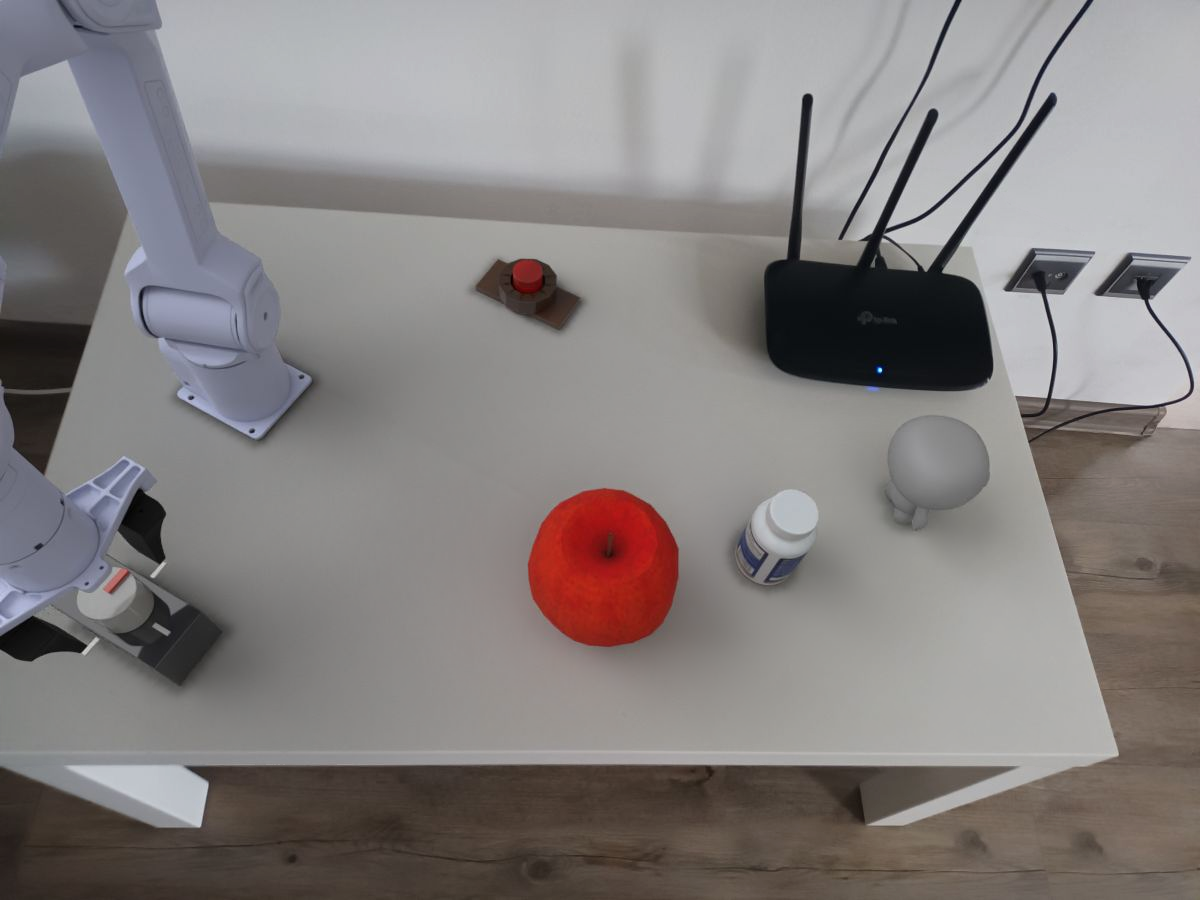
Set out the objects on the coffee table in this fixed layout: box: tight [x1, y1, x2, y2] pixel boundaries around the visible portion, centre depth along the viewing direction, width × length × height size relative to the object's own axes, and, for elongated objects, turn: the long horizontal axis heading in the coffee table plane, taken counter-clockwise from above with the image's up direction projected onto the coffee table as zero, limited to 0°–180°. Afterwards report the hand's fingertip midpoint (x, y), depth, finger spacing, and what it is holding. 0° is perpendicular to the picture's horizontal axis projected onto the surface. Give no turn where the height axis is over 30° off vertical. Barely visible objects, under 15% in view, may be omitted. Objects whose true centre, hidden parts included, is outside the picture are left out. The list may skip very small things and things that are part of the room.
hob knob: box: [77, 567, 154, 633], centre depth 59 cm, size 4×4×4 cm
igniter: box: [475, 258, 581, 331], centre depth 84 cm, size 10×6×2 cm, turn 62°
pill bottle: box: [734, 488, 820, 586], centre depth 68 cm, size 5×5×10 cm
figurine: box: [885, 414, 991, 531], centre depth 71 cm, size 8×8×12 cm
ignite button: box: [513, 260, 543, 294], centre depth 83 cm, size 3×3×2 cm
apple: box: [527, 487, 680, 648], centre depth 63 cm, size 12×12×13 cm
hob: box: [50, 553, 224, 687], centre depth 63 cm, size 10×8×5 cm
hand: (114, 597), depth 59 cm, fingers open, 7 cm apart
